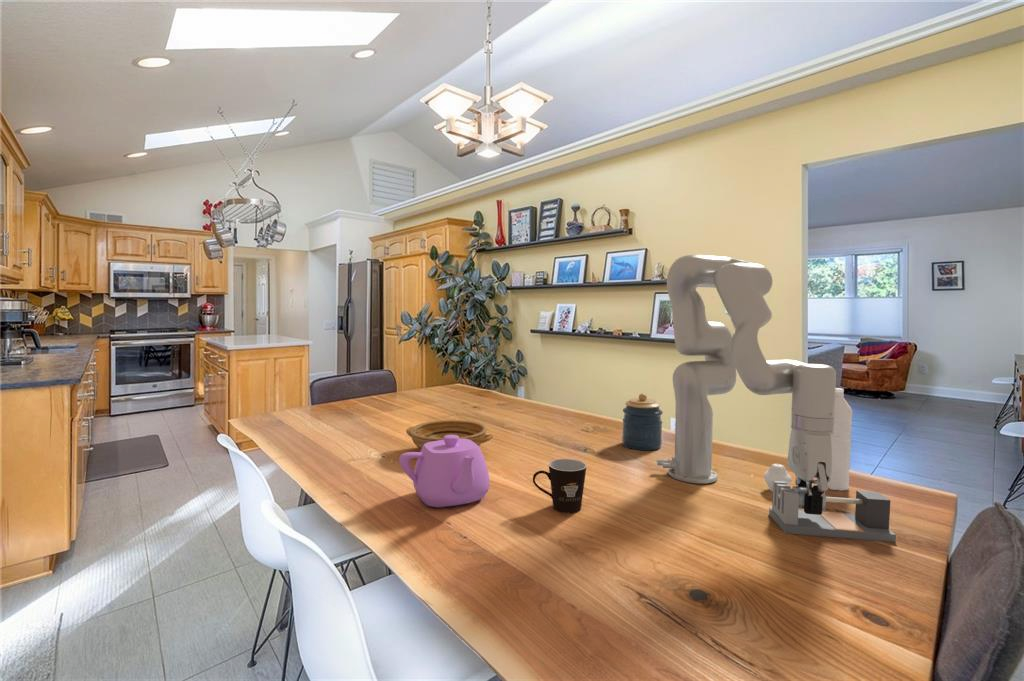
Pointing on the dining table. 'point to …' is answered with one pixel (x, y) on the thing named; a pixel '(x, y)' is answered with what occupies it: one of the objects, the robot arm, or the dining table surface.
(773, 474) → the white rounded ridged piece
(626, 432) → the canister
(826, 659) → the dining table surface
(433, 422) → the ceramic bowl
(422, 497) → the teapot
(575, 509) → the coffee mug
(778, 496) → the board
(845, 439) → the water bottle
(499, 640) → the dining table surface
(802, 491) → the sleeve
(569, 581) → the dining table surface
